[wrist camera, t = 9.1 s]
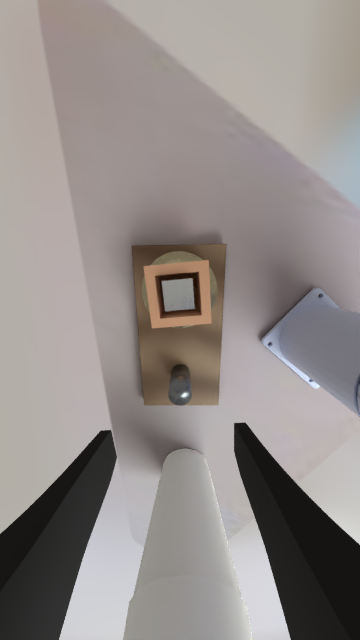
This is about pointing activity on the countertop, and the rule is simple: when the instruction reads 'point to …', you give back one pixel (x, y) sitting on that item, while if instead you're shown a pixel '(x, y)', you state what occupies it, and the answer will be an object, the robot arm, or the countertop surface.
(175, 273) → the collar
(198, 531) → the foam cup
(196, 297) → the hub
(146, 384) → the jig board
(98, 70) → the countertop surface
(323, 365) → the robot arm
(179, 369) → the stand rod
